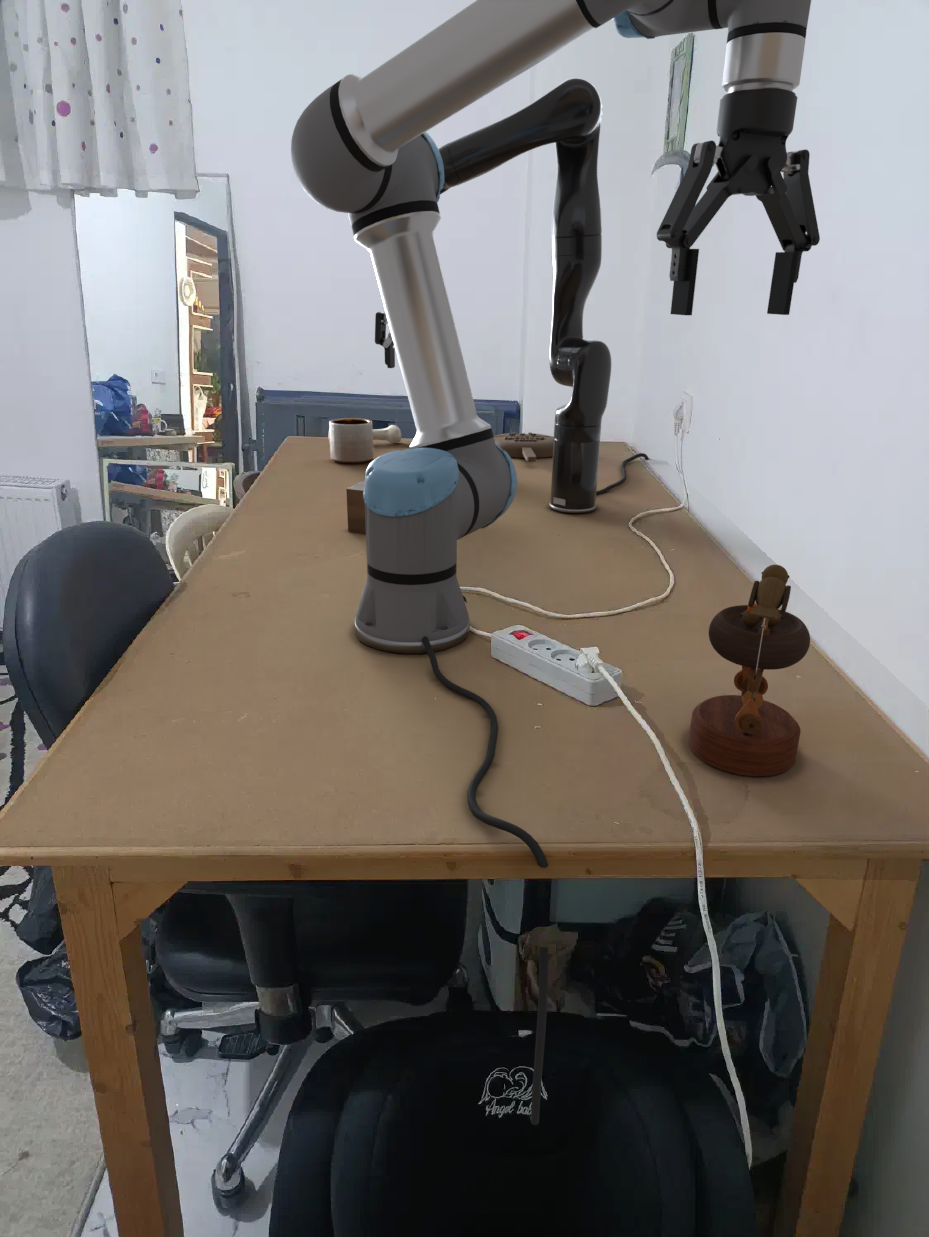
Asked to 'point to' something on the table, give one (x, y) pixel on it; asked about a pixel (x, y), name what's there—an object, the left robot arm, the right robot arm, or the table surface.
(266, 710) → the table surface
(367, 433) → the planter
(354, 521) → the bar
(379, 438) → the dog toy
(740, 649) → the brown wooden stacked piece
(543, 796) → the table surface
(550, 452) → the ice cream bar
